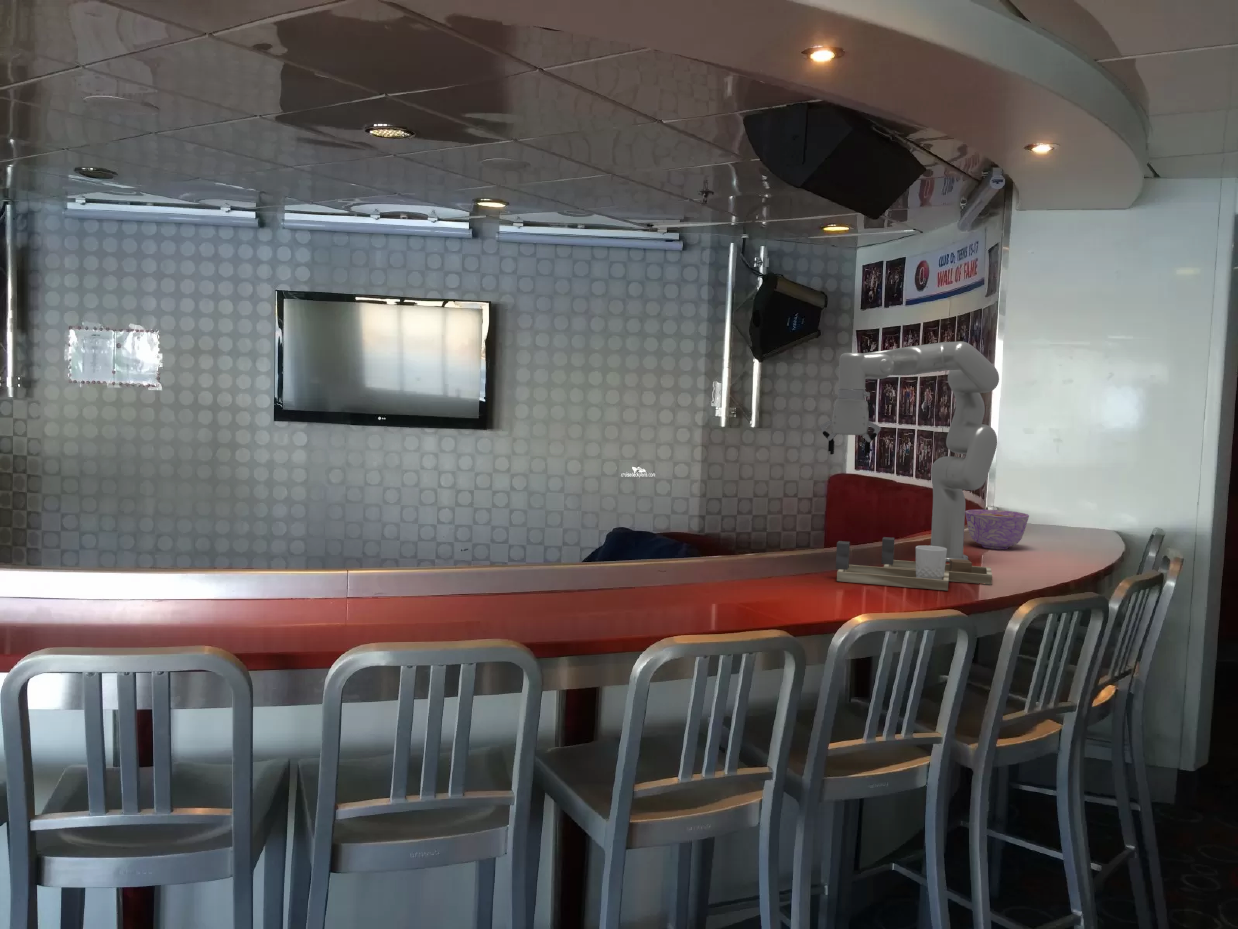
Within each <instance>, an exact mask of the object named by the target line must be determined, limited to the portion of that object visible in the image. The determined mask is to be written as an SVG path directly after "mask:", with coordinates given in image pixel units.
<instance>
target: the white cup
mask: <svg viewBox="0 0 1238 929" xmlns="http://www.w3.org/2000/svg"><path fill="white" fill-rule="evenodd" d="M946 554H947V549H946V548H944V547H938V546H931V545H916V546H915V562H916V578H927V579H939V580H943V577H944V572H945V565H946V564H947V561H946Z"/></svg>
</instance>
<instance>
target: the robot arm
mask: <svg viewBox="0 0 1238 929" xmlns="http://www.w3.org/2000/svg"><path fill="white" fill-rule="evenodd" d="M838 362H839V363H838V365H839V366H838V388H837V400H835V402H834V406H833V412H832V418H831V419H829V420H828V421H826V422H824V423H822V424H819V429H820V430H821V433H822V435H823V436H824V437H825V438H826V439H827V441H828V446H827V448H828V449H827V451H828V452H829V455H834V454H835V439H834V438H835V437H836V436H838V435H842V436H845V435H846V436H862V437H863V438H864V439H865V442H864V447H863V449H864V450H863V451H864V452H863V456H864V457H868V454H871V453H870V452H871V442H872V441H873V440H874V439H875V438H877V436H878V434H879V433H880V431H881V429H882V427H881V426H880V425H877V424H876V423H874V422H872V421H870V420H869V414H870V413H869V403H868V401H867V400H865V399H866V398H867V397H868V398H870V397H871V392H868V391H866V380H880V379H881V380H882V379H886V378H888V377H890V376H915V375H922V374H923V375H924V374H928V373H937V372H942V371H949V372H948V375H947V383H948V385H949V388H950V390H951V391H952V393H953V395H954V398H955V410H954V414H953V417H952V420H951V423H950V426H949V428H948V432H947V436H946V439H945V444H946V448H947V449H948V450H949V451H950V452H952V453H954V454H959V455H965V457H961V456H953V455H951V456H950V455H946V456H942V457H939V458H937V459H936V460H935V461H934V462H933V464H932V466H931V469H930V478H931V485H932V516H931V533H930V534H931V536H930V546H938V547H944V548H946V549H947V554H946V562H948V563H950V559H959V560H969V556H968V555H966V554H964V542H965V541H964V539H965V522H966V519H965V518H966V514H965V511H966V507H967V506H966V496H965V493H964V491H966V490H967V491H977V490H978V489H981V488H982V487H983V486H984V484H985V483H986V480H987V478H988V476H989V472H990V470H991V466H992V464H993V460H994V459H995V458H994V457H995V454H996V451H997V447H998V436H997V434H996V433H997V432H996V431H995V430H994V429H993V428H992V426H990V425H987V424H983V419H984V416H985V413H986V412H985V410H986V409H985V408H986V407H985V402H984V399H983V397H982V394H985V393H989V392H992V391H994V390H995V389H996V388H997V386H999V384H1000V383H999V382H1000V374H999V372H998V369H997V368H996V366H995V365H993V364H992V362H990V361H989V359H988V358H987V357H986V356H985V355H984V354H982V353H981V352H980V351H979V350H978V349H977V348H976V347H974V346H973V345H972V344H970V343H968V342H966V341H963V340H962V341H943V342H942V341H941V342H934V343H927V344H921V345H911V346H906V347H899V348H893V349H888V350H880V351H879V350H878V351H872V352H864V353H862V352H844V353H842V354H841V355H840V356H839V361H838ZM829 426H831V433H829V432H828V431H827V428H828V427H829ZM869 427H870V428H872V429H873V430H874V431H873V433H872V434H870V435H869V434H868V433H869ZM963 490H964V491H963Z"/></svg>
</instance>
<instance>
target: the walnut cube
mask: <svg viewBox="0 0 1238 929" xmlns="http://www.w3.org/2000/svg"><path fill="white" fill-rule="evenodd" d="M949 564H950V565H949V571H952V572H965V573H971V572H972V566H973V562H971V560H969V559H968V560H959V559H950V562H949Z"/></svg>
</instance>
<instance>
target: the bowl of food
mask: <svg viewBox="0 0 1238 929" xmlns="http://www.w3.org/2000/svg"><path fill="white" fill-rule="evenodd" d="M1029 517H1030V515H1029V514H1028V513H1024V512H1019V511H1009V510H1002V509H1001V510H1000V509H999V510H998V509H968V510H967V509H966V510H965V518H966V519H965V520H966V523H967V529H968V532H969V535H970V538H972V540H973V541H974V542H976V544H979V545H981V547H982V548H985V549H991V550H1007V549H1009V547H1012V546H1015V545H1017V544H1019V543H1020V541H1022V539H1023V536H1024V534H1025V531H1026V527H1027V524H1028V521H1029Z"/></svg>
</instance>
